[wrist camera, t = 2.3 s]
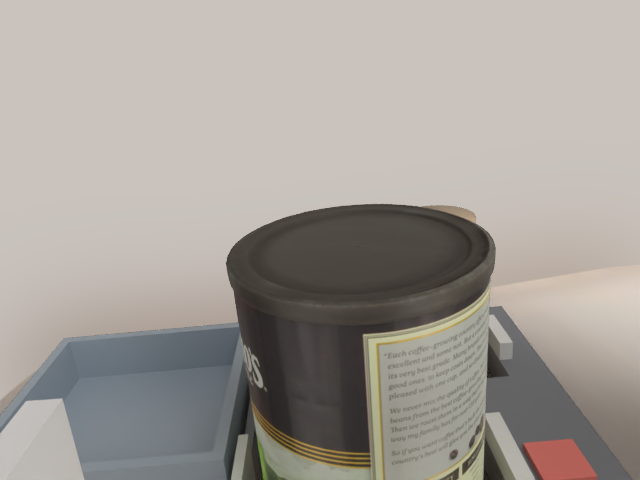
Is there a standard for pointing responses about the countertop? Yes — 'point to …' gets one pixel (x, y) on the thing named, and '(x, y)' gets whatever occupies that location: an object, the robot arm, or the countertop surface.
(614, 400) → the countertop surface
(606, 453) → the grey holder base
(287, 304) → the coffee can
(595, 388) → the countertop surface
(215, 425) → the tray
